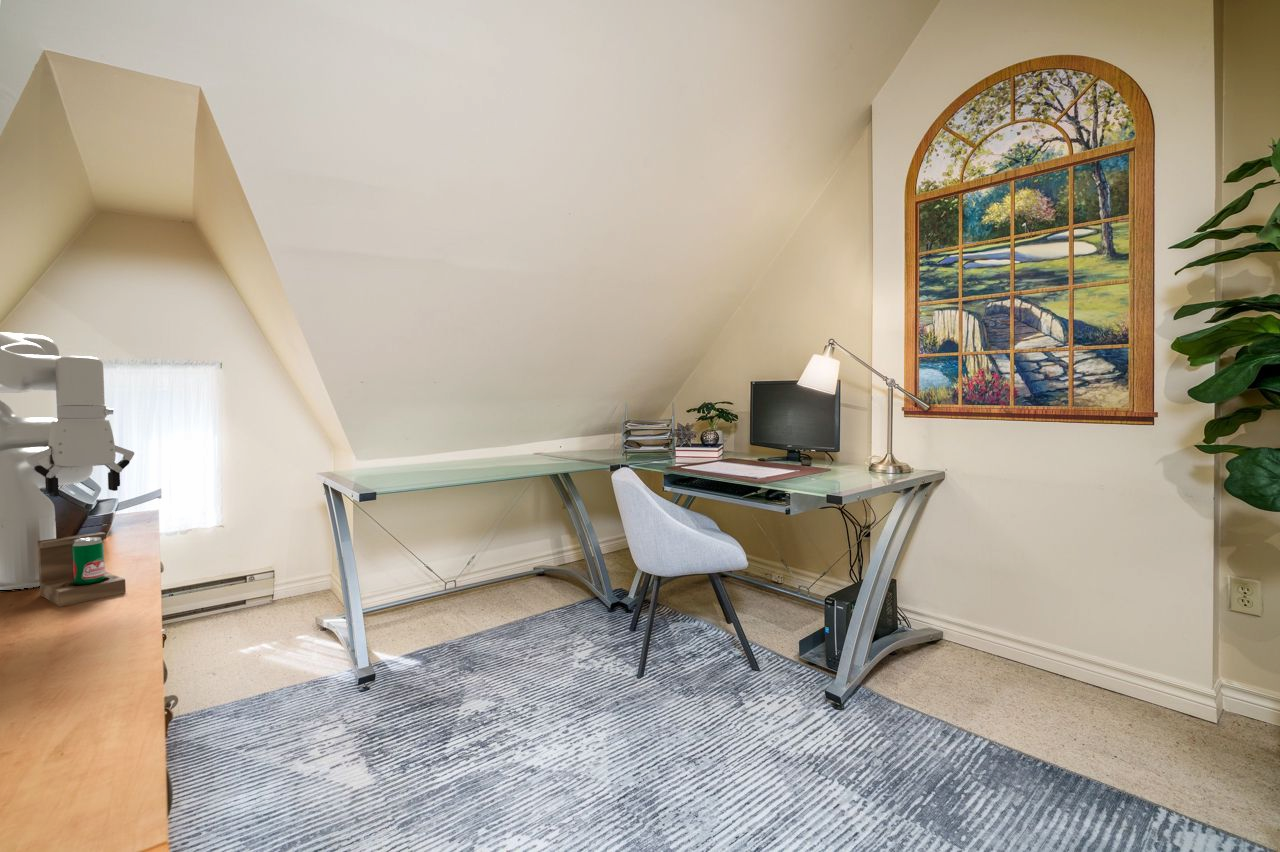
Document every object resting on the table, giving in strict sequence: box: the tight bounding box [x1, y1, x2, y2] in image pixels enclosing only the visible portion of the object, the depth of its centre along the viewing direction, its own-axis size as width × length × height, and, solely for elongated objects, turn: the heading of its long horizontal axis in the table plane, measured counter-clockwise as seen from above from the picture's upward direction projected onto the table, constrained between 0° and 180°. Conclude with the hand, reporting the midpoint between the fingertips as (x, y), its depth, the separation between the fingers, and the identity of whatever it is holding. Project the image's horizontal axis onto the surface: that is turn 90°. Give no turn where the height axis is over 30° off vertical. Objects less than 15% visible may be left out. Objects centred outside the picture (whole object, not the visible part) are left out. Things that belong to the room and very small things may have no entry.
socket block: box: [38, 531, 127, 608], centre depth 129 cm, size 14×10×12 cm
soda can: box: [72, 537, 106, 586], centre depth 128 cm, size 5×5×12 cm
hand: (84, 493), depth 128 cm, fingers open, 9 cm apart
